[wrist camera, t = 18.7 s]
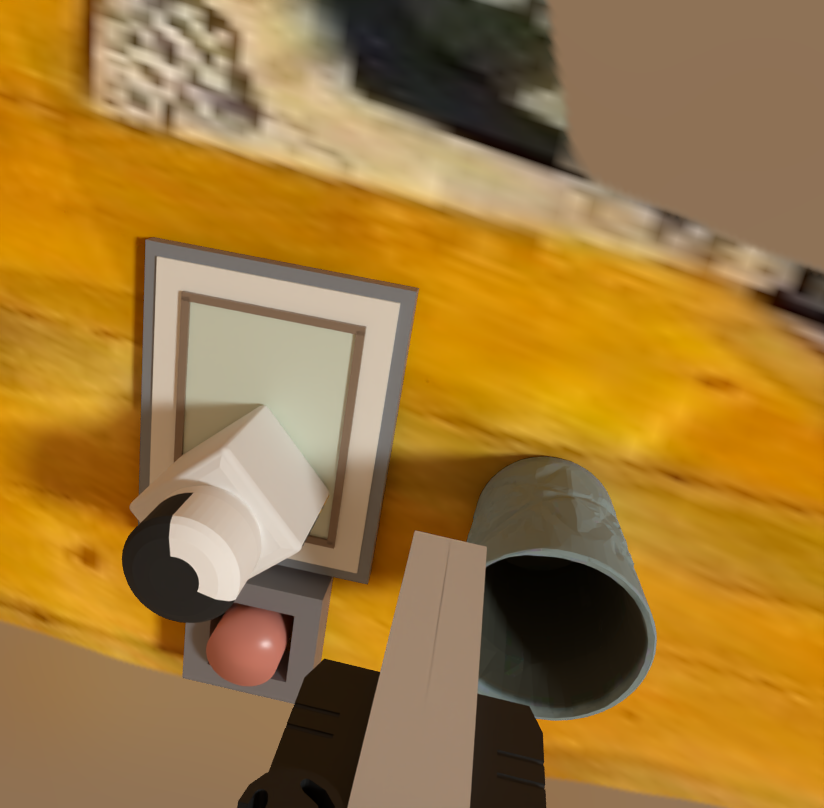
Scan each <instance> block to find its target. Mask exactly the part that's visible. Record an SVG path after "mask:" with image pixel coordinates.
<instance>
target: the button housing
mask: <svg viewBox="0 0 824 808" xmlns="http://www.w3.org/2000/svg"><path fill="white" fill-rule="evenodd" d="M332 581H333V577H332V576H327V575H323V574H318V573H314V572H309V571H305V570H300V569H295V568H291V567H286V566H282V565H277V564H276V565H274V566H272V567H270V568H268V569H266V570H265V571H263V572H261V573H259V574H257V575H255V576H254V577H252V578H250V579H248V580H247V582H246V583H245V585H244V586H243V588H242V590H241V591H240V593H239V595H238V596H237V598H236V600H235V601H234V603H239V604H243V605H248V606H252V607H256V608H261V609H265V610H270V611H274V612H279V613H283V614H288V615H292V616H294V624H293V632H292V640H291V648H290V651H287V650H285V651H284V653H283V655H282V658H281V660H280V662H279V664H278V667H277V669H276V671H275V673H274V675H273V676H272V677H271V678H270V679H269V680H268V681H266V682H265V683H263V684H260V685H257V686H240V685H236V684H233V683H231V682H228V681H227V680H225V679H223V678H222V677H221V676H219V675H218V674H217V673H216V672H215V671H214V670H213V668H212V667H211V665H210V664H209V661H208V659H207V655H206V646H207V642H208V640H209V638H210V637H211V635H212V633H213V632H214V630H215V628H216V627H217V625H218V623H219V622H220V620H221V618H222V617H223V615H224V613H225V612H224V613H223V614H222V615H220V616H218V617H217V618H215V619H212V620H209V621H205V622H200V623H186V627H185V644H184V662H183V678H185V679H189V680H194V681H198V682H202V683H207V684H211V685H215V686H220V687H224V688H228V689H232V690H237V691H241V692H245V693H250V694H254V695H258V696H263V697H267V698H271V699H276V700H280V701H284V702H289V703H293V704H295V701H296V698H297V696H298V693H299V690H300V688H301V685H302V682H303V680H304V677H305V676H306V675H307V674H309V673H310V672H311V671H312V670H313V669H314V668H315V667H316V666H317V665H318V664H319V663H320V662H321V656H322V649H323V643H324V636H325V629H326V622H327V615H328V608H329V602H330V595H331V588H332Z"/></svg>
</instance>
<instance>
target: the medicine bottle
mask: <svg viewBox="0 0 824 808" xmlns="http://www.w3.org/2000/svg"><path fill="white" fill-rule="evenodd" d="M329 494H330V493H329V490H328V489H327V487H326V486H325V485H324V483H323V482H322V480H321V479H320V478H319V476H318V475H317V474H316V472H315V471H314V469H313V468H312V467H311V465H310V464H309V463H308V461H307V460H306V458H305V457H304V456H303V454H302V453H301V452H300V450H299V449H298V448H297V446H296V445H295V443H294V442H293V441H292V439H291V438H290V437H289V435H288V434H287V432H286V431H285V430H284V428H283V427H282V426H281V424H280V423H279V421H278V420H277V419H276V417H275V416H274V415H273V413H272V412H271V410H270V409H269V408H268V407H267V406H265V405H262V406H259V407H257V408H256V409H254V410H253V411H251V412H250V413H248V414H246V415H245V416H243V417H242V418H240V419H238V420H237V421H235V422H234V423H232V424H231V425H229V426H227V427H226V428H224V429H223V430H221V431H220V432H218V433H216V434H215V435H213V436H212V437H210V438H208V439H207V440H205V441H204V442H202V443H201V444H199V445H197V446H196V447H194V448H193V449H191V450H190V451H188V452H186V453H185V454H183V455H182V456H181V457H180V458H178V459H177V460H176V461H175V462H174V463H173V464H172V465H171V466H170V467H169V468H168V469H167V470H166V471H165V472H163V473H162V474H161V475H160V476H159V477H158V478H157V479H156V480H155V481H154V482H153V483H152V484H151V485H150V486H148V487H147V488H146V489H145V490H144V491H143V492H142V493H141V494H140V495H139V496H138V497H137V498H136V499H135V500H133V501H132V503H131V504H130V510H131V512H132V513H133V514H134V515H135V517H136V518H137V519H138V520H139V521H140V524H139V525H138V526H137V527H136V528H135V529H134V530H133V531H132V532H131V534H130V535H129V536H128V538H127V540H126V542H125V544H124V548H123V553H122V566H123V571H124V574H125V577H126V580H127V582H128V585H129V586H130V588H131V590H132V592H133V593H134V595H135V596H136V597H137V598H138V599H139V601H140V602H141V603H142V604H144V605H145V606H146V607H147V608H148V609H150V610H151V611H152V612H154V613H156V614H158V615H159V616H162V617H164V618H166V619H169V620H173V621H177V622H184V623H200V622H205V621H209V620H212V619H215V618H217V617H218V616H220V615H222V614H223V613H224V612H226V611H227V610H228V609H229V608H230V607H231V606H232V604H233V603H234V601H235V600H236V598H237V596H238V595H239V593H240V591H241V590H242V588H243V586H244V585H245V583H246V582H247V580H248V579H250V578H252V577H254V576H255V575H257V574H259V573H261V572H263V571H265V570H266V569H268V568H270V567H272V566H274V565H276V564H277V563H279V562H281V561H283V560H285V559H287V558H288V557H290V556H292V555H294V554H296V553H297V552H299V551H300V550H301V549H302V547H303V545H304V543H305V541H306V539H307V537H308V536H309V534H310V532H311V530H312V528H313V526H314V524H315V522H316V520H317V518H318V517H319V515H320V513H321V511H322V509H323V507H324V505H325V503H326V501H327V499H328V497H329Z"/></svg>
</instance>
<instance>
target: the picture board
mask: <svg viewBox="0 0 824 808" xmlns="http://www.w3.org/2000/svg"><path fill="white" fill-rule="evenodd" d="M418 290H419V288H415V287H410V286H405V285H400V284H394V283H389V282H384V281H379V280H374V279H368V278H363V277H358V276H353V275H348V274H342V273H337V272H332V271H327V270H322V269H316V268H311V267H306V266H301V265H295V264H290V263H285V262H280V261H275V260H269V259H264V258H259V257H254V256H249V255H243V254H238V253H233V252H228V251H223V250H217V249H212V248H207V247H202V246H197V245H191V244H186V243H181V242H176V241H171V240H165V239H160V238H155V237H153V238H149V239H146V244H145V281H144V319H143V357H142V395H141V433H140V471H139V495H140V494H141V493H142V492H143V491H144V490H145V489H146V488H147V487H148V486H150V485H151V484H152V483H153V482H154V481H155V480H156V479H157V478H158V477H159V476H160V475H161V474H162V473H163V472H165V471H166V470H167V469H168V468H169V467H170V466H171V465H172V464H173V463H174V462H175V461H176V460H177V459H178V458H180V457H181V456H182V455H183V454H185V453H186V452H188V451H190V450H191V449H193V448H194V447H196V446H197V445H199V444H201V443H202V442H204V441H205V440H207V439H208V438H210V437H212V436H213V435H215V434H216V433H218V432H220V431H221V430H223V429H224V428H226V427H227V426H229V425H231V424H232V423H234V422H235V421H237V420H238V419H240V418H242V417H243V416H245V415H246V414H248V413H250V412H251V411H253V410H254V409H256V408H257V407H259V406H262V405H265V406H267V407H268V408H269V409H270V410H271V412H272V413H273V415H274V416H275V417H276V419H277V420H278V421H279V423H280V424H281V426H282V427H283V428H284V430H285V431H286V432H287V434H288V435H289V437H290V438H291V439H292V441H293V442H294V443H295V445H296V446H297V448H298V449H299V450H300V452H301V453H302V454H303V456H304V457H305V458H306V460H307V461H308V463H309V464H310V465H311V467H312V468H313V469H314V471H315V472H316V474H317V475H318V476H319V478H320V479H321V480H322V482H323V483H324V485H325V486H326V487H327V489H328V490H329V493H330V494H329V497H328V499H327V501H326V503H325V505H324V507H323V509H322V511H321V513H320V515H319V517H318V518H317V520H316V522H315V524H314V526H313V528H312V530H311V532H310V534H309V536H308V537H307V539H306V541H305V543H304V545H303V547H302V549H301V550H300V551H299V552H297V553H296V554H294V555H292V556H290V557H288V558H287V559H285V560H283V561H281V562H279V563H277V565H282V566H286V567H291V568H295V569H300V570H305V571H309V572H314V573H318V574H323V575H327V576H332V577H336V578H341V579H345V580H350V581H355V582H359V583H364V584H368V581H369V578H370V574H371V569H372V563H373V557H374V551H375V545H376V539H377V533H378V527H379V521H380V515H381V509H382V503H383V497H384V492H385V486H386V480H387V474H388V468H389V462H390V456H391V450H392V444H393V438H394V432H395V426H396V420H397V415H398V409H399V403H400V397H401V391H402V385H403V379H404V373H405V367H406V361H407V355H408V349H409V343H410V338H411V332H412V326H413V320H414V314H415V308H416V302H417V296H418ZM139 524H140V521H139V520H138V525H139Z"/></svg>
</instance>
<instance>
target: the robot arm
mask: <svg viewBox="0 0 824 808" xmlns="http://www.w3.org/2000/svg"><path fill="white" fill-rule="evenodd" d="M486 554H487V547H486V546H481V545H477V544H472V543H468V542H464V541H459V540H455V539H451V538H446V537H442V536H438V535H433V534H429V533H425V532H420V531H416V530H415V532H414V536H413V540H412V544H411V549H410V553H409V557H408V561H407V565H406V569H405V573H404V577H403V581H402V586H401V590H400V594H399V598H398V602H397V606H396V610H395V614H394V618H393V622H392V627H391V631H390V635H389V639H388V643H387V647H386V651H385V655H384V659H383V663H382V668H381V672H378V671H373V670H369V669H365V668H361V667H357V666H353V665H349V664H344V663H340V662H336V661H332V660H328V659H324V660H322V661H321V662H320V663H319V664H318V665H317V666H316V667H315V668H314V669H313V670H312V671H311V672H310V673H309V674H307V675H306V676H305V677H304V680H303V682H302V685H301V688H300V690H299V693H298V696H297V698H296V701H295V705H294V707H293V709H292V712H291V714H290V717H289V719H288V722H287V726H286V728H285V730H284V733H283V736H282V738H281V741H280V743H279V746H278V749H277V751H276V754H275V757H274V759H273V762H272V765H271V767H270V770H269V772H268V773H265V774H264V775H263V776H261V777H260V778H258V779H257V780H255V781H254V782H253V783H251V784H250V785H249V786H248V787H247V789H246V790H245V792H244V794H243V795H242V797H241V798H240V799H239V801H238V807H237V808H546V794H545V790H544V786H545V772H544V766H543V763H544V750H543V733H542V731H541V729H540V727H539V725H538V722H537V720H536V718H535V716H534V714H533V712H532V710H531V708H530V706H527V705H523V704H519V703H515V702H510V701H506V700H502V699H498V698H494V697H490V696H486V695H481V694H477V691H478V676H479V661H480V645H481V630H482V615H483V600H484V584H485V569H486Z"/></svg>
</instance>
